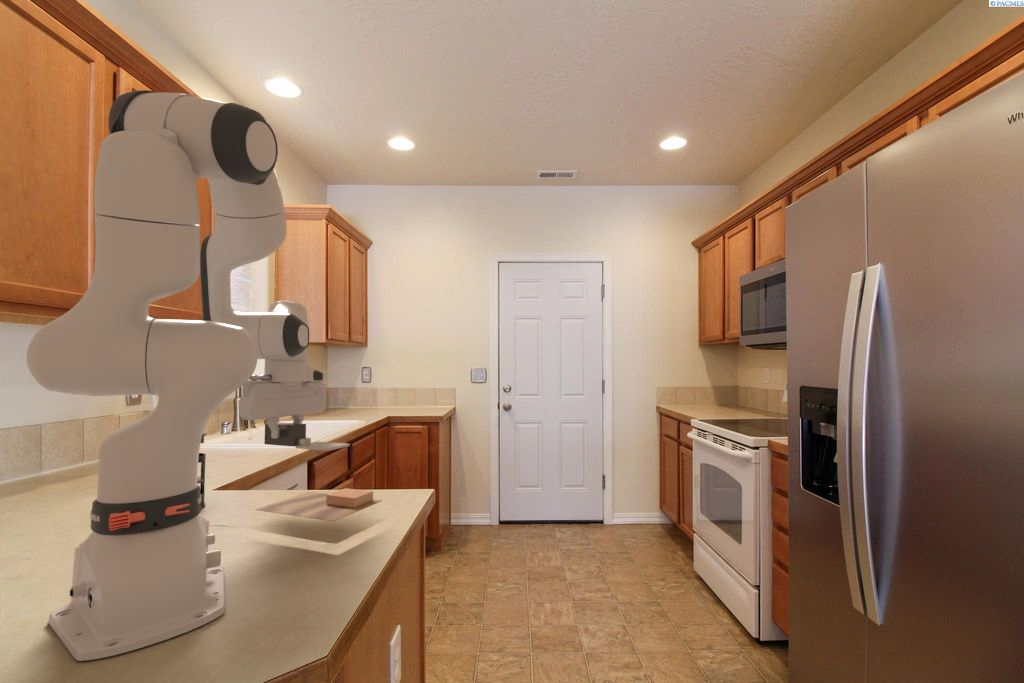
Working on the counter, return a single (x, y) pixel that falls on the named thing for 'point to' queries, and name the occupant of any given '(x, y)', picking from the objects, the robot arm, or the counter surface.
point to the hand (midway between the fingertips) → (285, 436)
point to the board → (313, 507)
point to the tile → (349, 497)
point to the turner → (298, 438)
